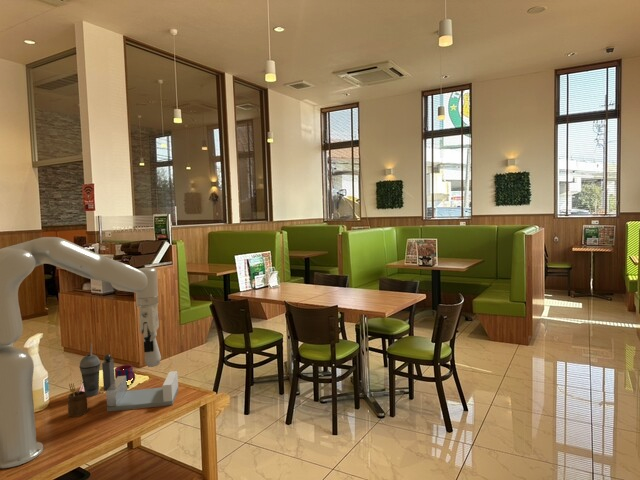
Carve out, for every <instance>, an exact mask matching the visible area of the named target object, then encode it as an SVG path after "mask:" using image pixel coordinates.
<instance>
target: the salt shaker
mask: <svg viewBox="0 0 640 480" xmlns="http://www.w3.org/2000/svg"><path fill="white" fill-rule="evenodd" d="M148 333H150V331H148ZM157 335H158V334H157V331H156V332H155V333H152V341H153V346H154V351H153V352H151V351H150V352H144V360H143V361H144V363H145V364H146V366H147V367H148V368H154V367H158V366H159V365H160V363H161V360H162V356H161V352H160V348H159V345H158V341H157ZM149 336H150V335H149Z"/></svg>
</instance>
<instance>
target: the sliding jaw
mask: <svg viewBox="0 0 640 480" xmlns="http://www.w3.org/2000/svg"><path fill="white" fill-rule="evenodd" d="M103 359H104V361H103V362H102V364H101V365H102V366H101V367H102V381H103V391H106V392H105V393H106V395H105V396H106V406H107V407H108V406H116V405H117V404H118V402H119V401H120V400H121V398H122V397H123V395H124V394H125V392H126V391H128V386H127V382H126V376H118V377H117V378H116V379H115V364H114V363H115V359H114V358H113V357H112V355H111V354H109V353H107V354H105V355H104V357H103Z"/></svg>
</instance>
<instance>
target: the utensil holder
mask: <svg viewBox="0 0 640 480" xmlns="http://www.w3.org/2000/svg"><path fill="white" fill-rule="evenodd" d="M79 382H80V384H83V381H82V379H81V380H77V381H76V383H79ZM68 386H69V391H70V392H71V393H70V394H69V395H68V397H67V398H68V401H67V408H68V409H67V413H68V415H69V417H72V418H73V417H75V418H76V417H80V416H83V415H86V414H87V412H88V399H87V396H85V395H86V394H85V392H84V387H80V389H79V390H78V389H76V386H75V383H74V382H73V383H68ZM81 388H82V389H81Z"/></svg>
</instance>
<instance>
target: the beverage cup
mask: <svg viewBox="0 0 640 480" xmlns="http://www.w3.org/2000/svg"><path fill="white" fill-rule="evenodd" d="M100 368H101V361H100V358H99V357H98V356H97V355H96V354H93V343H90V353H89V354H87V355H85V356H83V357H82V358H81V360H80V362H79V369H80V370H79V371H80V373H81V378H82V379H81V381H82V382H83V383H82V387H83V391H84V392H85V394H86V395H85V397H86V398H87V397H94V396H97V395H98V394H99V389H100V385H99V384H100Z"/></svg>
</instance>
